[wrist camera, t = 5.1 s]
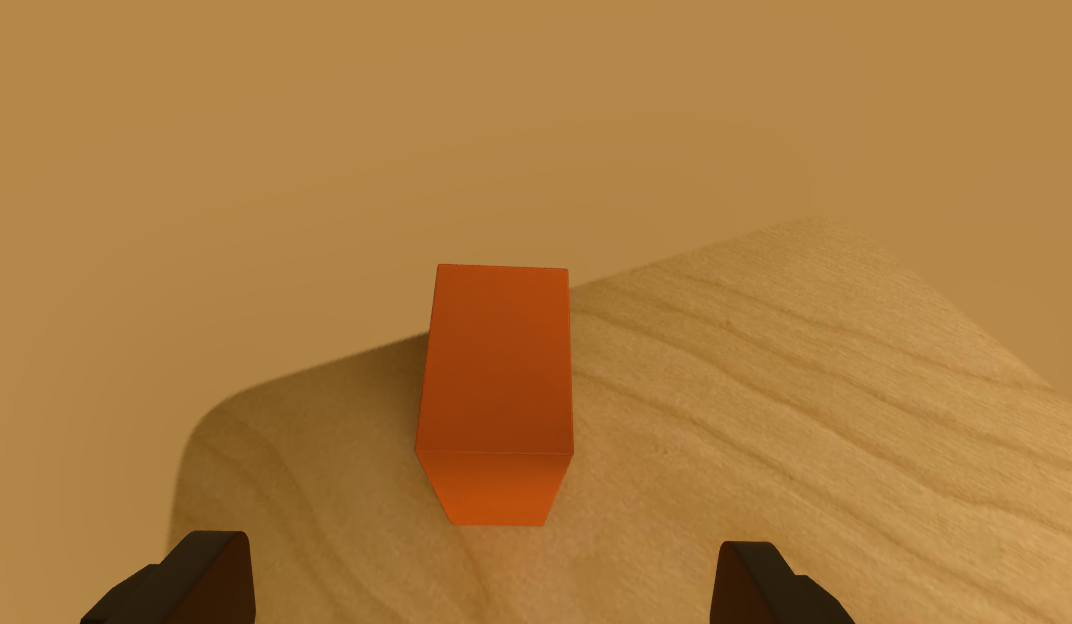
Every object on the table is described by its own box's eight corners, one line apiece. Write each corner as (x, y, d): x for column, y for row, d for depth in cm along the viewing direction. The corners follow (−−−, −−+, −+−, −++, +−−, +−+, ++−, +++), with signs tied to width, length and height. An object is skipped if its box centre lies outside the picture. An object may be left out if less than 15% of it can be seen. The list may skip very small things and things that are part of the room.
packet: (451, 524, 20) (413, 451, 12) (461, 398, 23) (437, 262, 14) (543, 526, 20) (574, 455, 12) (543, 400, 23) (568, 267, 14)
